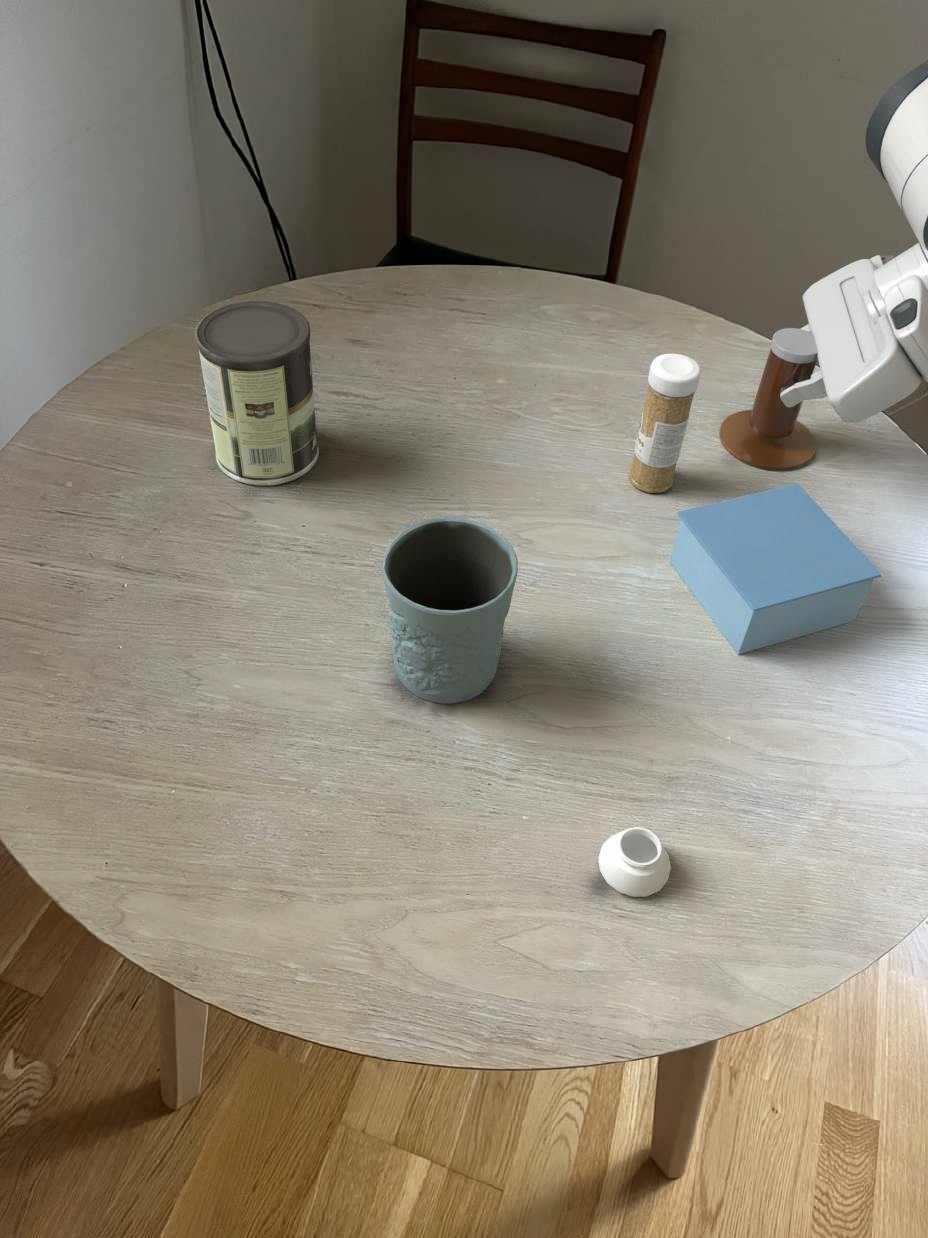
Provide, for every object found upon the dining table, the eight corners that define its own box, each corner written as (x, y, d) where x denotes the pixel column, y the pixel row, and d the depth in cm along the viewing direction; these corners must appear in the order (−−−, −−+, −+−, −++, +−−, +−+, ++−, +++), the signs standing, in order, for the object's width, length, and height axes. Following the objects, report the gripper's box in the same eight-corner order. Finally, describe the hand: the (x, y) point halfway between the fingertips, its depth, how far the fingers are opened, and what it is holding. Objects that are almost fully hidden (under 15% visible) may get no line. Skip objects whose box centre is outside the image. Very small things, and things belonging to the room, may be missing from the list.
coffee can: (288, 411, 109) (276, 288, 99) (337, 464, 103) (331, 340, 93) (197, 443, 105) (175, 318, 94) (243, 500, 99) (225, 373, 89)
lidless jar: (593, 837, 76) (603, 900, 72) (599, 815, 73) (609, 879, 70) (661, 836, 76) (674, 898, 73) (668, 814, 74) (682, 877, 70)
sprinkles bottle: (626, 465, 105) (649, 349, 96) (671, 467, 106) (698, 352, 96) (629, 494, 102) (653, 378, 93) (675, 497, 102) (704, 381, 93)
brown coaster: (780, 405, 114) (781, 402, 114) (834, 459, 108) (835, 456, 107) (701, 422, 111) (702, 419, 111) (751, 479, 105) (752, 475, 105)
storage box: (779, 531, 100) (797, 482, 95) (859, 622, 92) (882, 574, 87) (664, 560, 96) (677, 511, 92) (736, 658, 88) (754, 609, 84)
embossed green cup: (490, 614, 90) (500, 510, 82) (519, 705, 84) (533, 601, 75) (375, 629, 89) (372, 524, 80) (395, 723, 82) (394, 619, 73)
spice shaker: (777, 407, 110) (804, 324, 103) (803, 434, 107) (833, 350, 100) (739, 416, 109) (763, 331, 102) (763, 443, 106) (790, 358, 99)
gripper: (876, 224, 102) (752, 305, 110) (919, 337, 88) (774, 421, 96) (906, 270, 105) (783, 346, 113) (952, 386, 92) (808, 464, 99)
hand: (779, 381), depth 104 cm, fingers closed on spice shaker, 4 cm apart
